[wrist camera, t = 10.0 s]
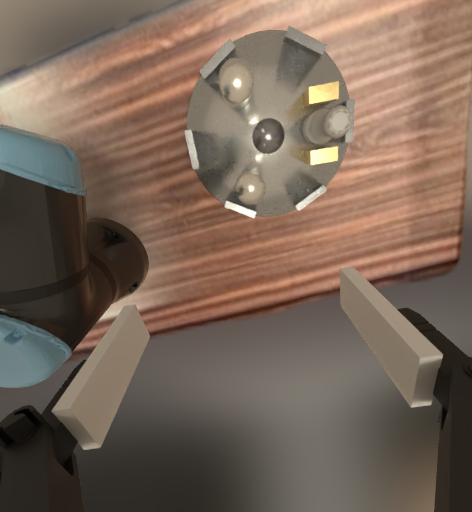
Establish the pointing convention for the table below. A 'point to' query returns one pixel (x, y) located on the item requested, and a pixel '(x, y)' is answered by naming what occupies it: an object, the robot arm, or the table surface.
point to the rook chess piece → (327, 124)
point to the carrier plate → (265, 122)
